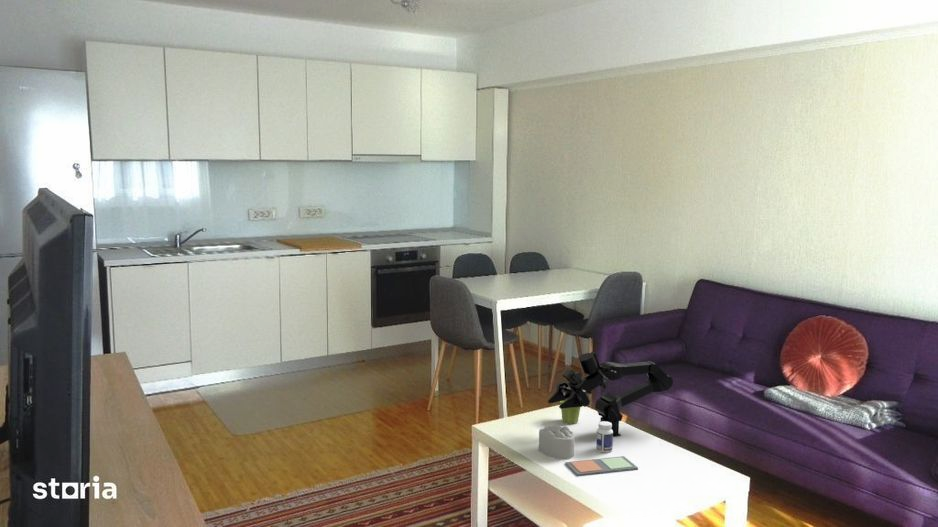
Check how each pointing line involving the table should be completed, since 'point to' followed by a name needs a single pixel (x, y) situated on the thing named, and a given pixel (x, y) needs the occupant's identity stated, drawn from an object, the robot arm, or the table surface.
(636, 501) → the table surface
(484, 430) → the table surface
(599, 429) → the pill bottle
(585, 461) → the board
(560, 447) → the lumpy-topped squat cylinder
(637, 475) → the table surface
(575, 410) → the plant pot
